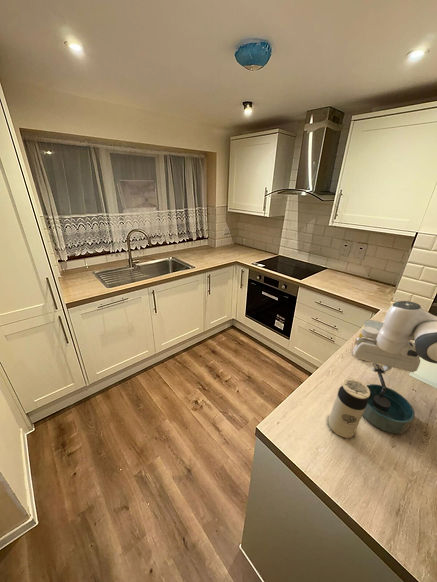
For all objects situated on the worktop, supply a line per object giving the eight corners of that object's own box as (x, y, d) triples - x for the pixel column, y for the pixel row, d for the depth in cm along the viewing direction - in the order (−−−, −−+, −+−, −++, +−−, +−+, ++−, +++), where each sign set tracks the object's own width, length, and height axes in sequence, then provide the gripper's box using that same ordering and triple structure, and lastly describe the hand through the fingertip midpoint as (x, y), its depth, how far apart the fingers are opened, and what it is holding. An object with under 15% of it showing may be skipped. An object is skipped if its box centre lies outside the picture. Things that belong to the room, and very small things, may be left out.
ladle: (379, 377, 94) (384, 365, 91) (390, 413, 80) (397, 399, 77) (365, 374, 96) (370, 361, 93) (373, 408, 81) (379, 394, 78)
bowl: (400, 403, 87) (406, 392, 85) (414, 441, 74) (421, 429, 72) (354, 390, 92) (359, 379, 89) (360, 424, 79) (366, 412, 76)
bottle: (354, 358, 109) (364, 332, 102) (351, 349, 115) (360, 323, 108) (371, 362, 107) (382, 335, 100) (367, 352, 113) (377, 326, 107)
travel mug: (330, 411, 83) (344, 373, 75) (355, 424, 79) (372, 385, 71) (325, 428, 77) (339, 389, 70) (352, 443, 73) (370, 403, 65)
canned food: (383, 344, 119) (391, 325, 114) (382, 357, 110) (391, 336, 105) (358, 336, 124) (365, 317, 119) (356, 348, 116) (363, 327, 111)
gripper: (359, 340, 85) (349, 369, 91) (427, 355, 78) (411, 385, 84) (357, 331, 90) (347, 358, 96) (420, 344, 84) (406, 373, 90)
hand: (377, 371), depth 90 cm, fingers closed on ladle
